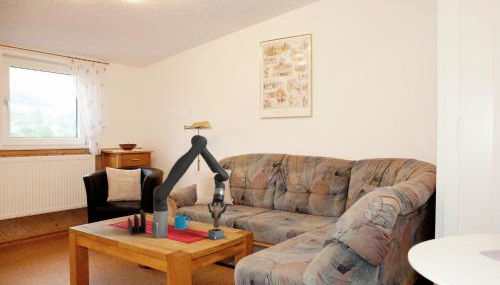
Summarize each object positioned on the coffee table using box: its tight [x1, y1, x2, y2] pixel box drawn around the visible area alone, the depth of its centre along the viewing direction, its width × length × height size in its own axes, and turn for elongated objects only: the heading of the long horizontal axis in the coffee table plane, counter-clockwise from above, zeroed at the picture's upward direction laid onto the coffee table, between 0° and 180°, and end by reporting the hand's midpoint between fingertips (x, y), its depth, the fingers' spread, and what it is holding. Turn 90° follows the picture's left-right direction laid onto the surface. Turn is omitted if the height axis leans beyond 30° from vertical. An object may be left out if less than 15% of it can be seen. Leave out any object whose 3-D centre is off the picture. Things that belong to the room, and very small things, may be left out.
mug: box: [174, 215, 191, 230], centre depth 273 cm, size 12×8×8 cm
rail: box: [213, 205, 220, 229], centre depth 247 cm, size 4×4×14 cm
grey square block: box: [205, 227, 228, 241], centre depth 247 cm, size 10×10×5 cm
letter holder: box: [126, 209, 147, 236], centre depth 261 cm, size 10×20×14 cm, turn 25°
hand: (215, 217), depth 245 cm, fingers closed on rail, 3 cm apart
